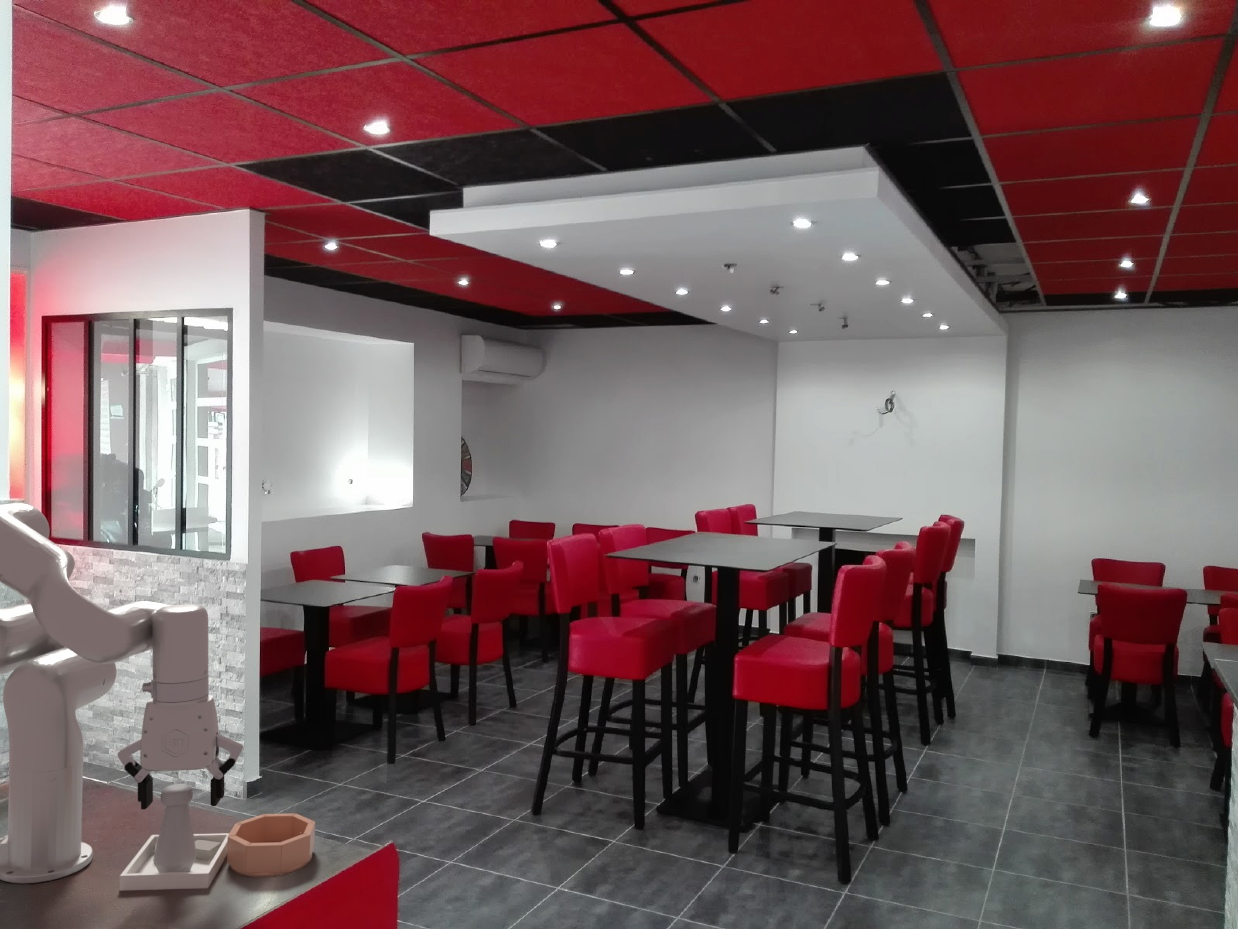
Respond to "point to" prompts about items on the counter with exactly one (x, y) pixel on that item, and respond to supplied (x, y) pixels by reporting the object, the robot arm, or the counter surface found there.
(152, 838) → the tray
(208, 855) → the beige rectangular block
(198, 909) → the counter surface
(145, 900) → the counter surface
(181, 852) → the salt shaker
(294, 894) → the counter surface
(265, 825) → the bowl
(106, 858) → the counter surface
